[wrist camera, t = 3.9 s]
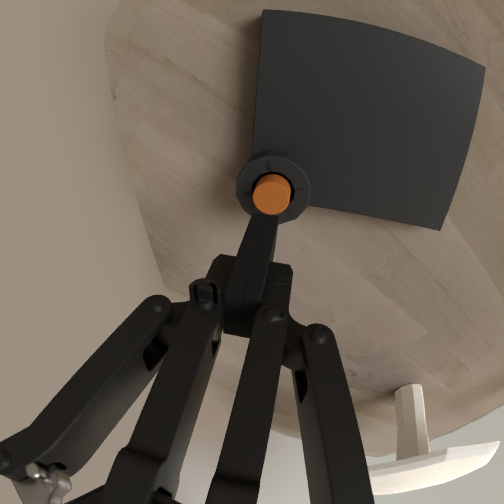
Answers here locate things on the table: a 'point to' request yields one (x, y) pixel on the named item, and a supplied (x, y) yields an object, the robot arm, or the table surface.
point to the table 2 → (422, 452)
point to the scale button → (272, 194)
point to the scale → (359, 119)
